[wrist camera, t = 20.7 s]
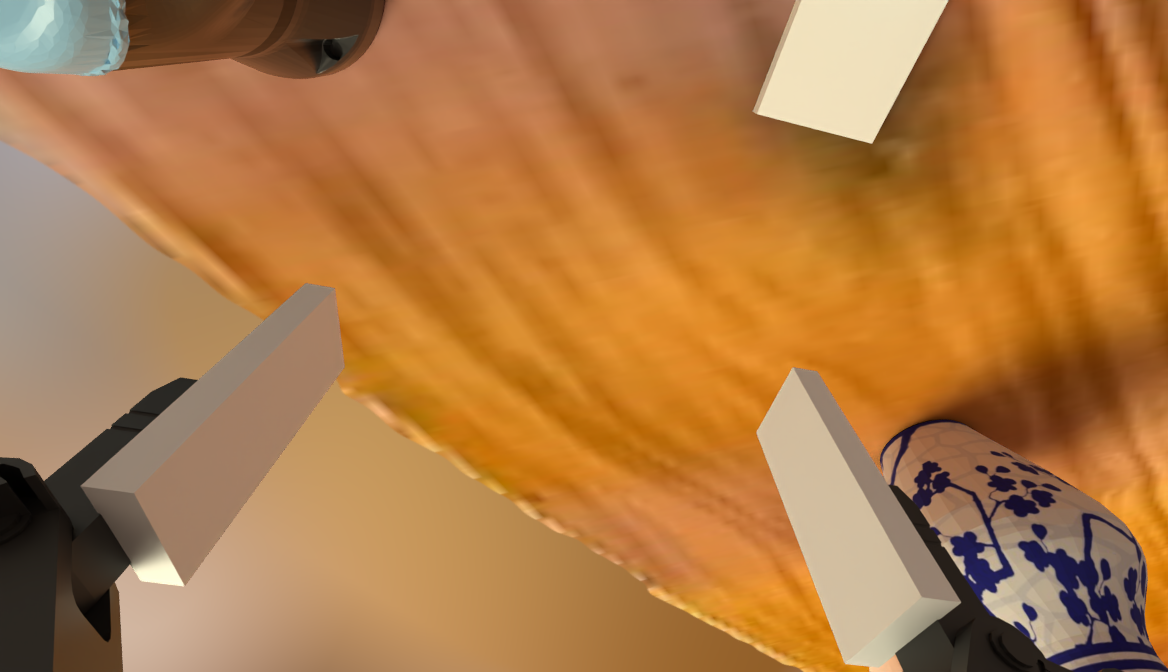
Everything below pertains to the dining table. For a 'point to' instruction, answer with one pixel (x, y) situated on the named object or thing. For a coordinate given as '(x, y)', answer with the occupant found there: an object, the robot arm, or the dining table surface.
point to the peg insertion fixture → (845, 63)
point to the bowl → (888, 666)
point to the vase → (1029, 546)
